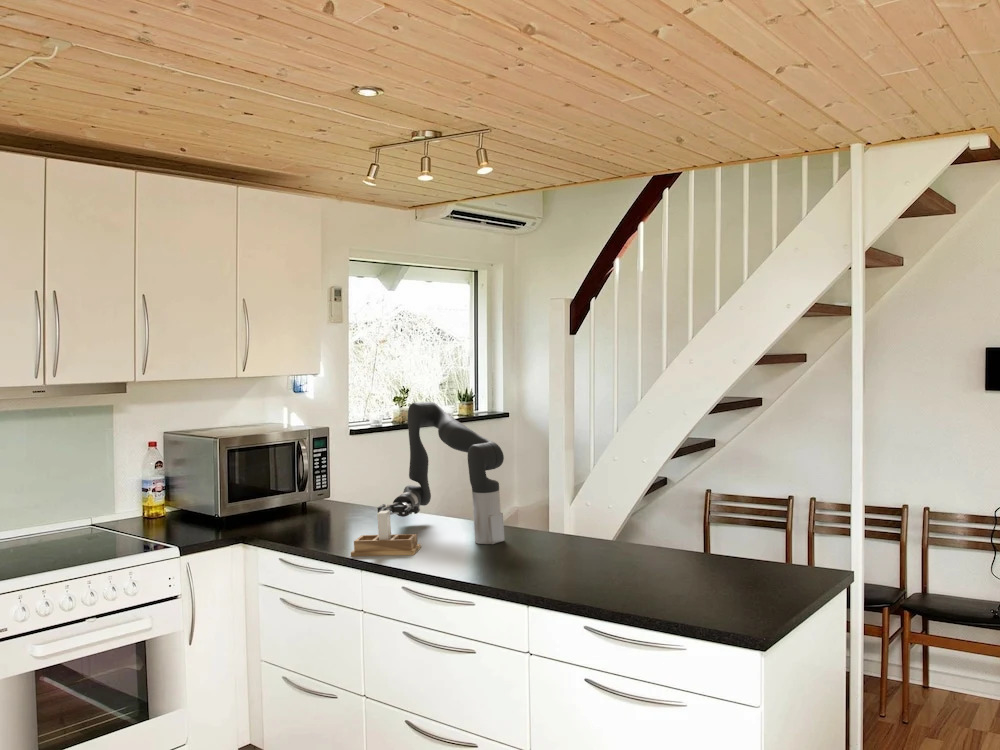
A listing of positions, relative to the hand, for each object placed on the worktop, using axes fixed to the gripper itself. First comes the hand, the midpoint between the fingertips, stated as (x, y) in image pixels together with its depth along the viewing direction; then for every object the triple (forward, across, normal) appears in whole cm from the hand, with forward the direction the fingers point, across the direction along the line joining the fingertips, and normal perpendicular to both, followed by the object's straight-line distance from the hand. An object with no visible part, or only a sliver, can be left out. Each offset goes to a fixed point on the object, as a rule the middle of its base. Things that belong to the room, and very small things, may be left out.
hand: (393, 513), depth 294 cm
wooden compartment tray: (+11, 0, +10) cm, 15 cm away
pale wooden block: (+11, 0, +9) cm, 14 cm away
